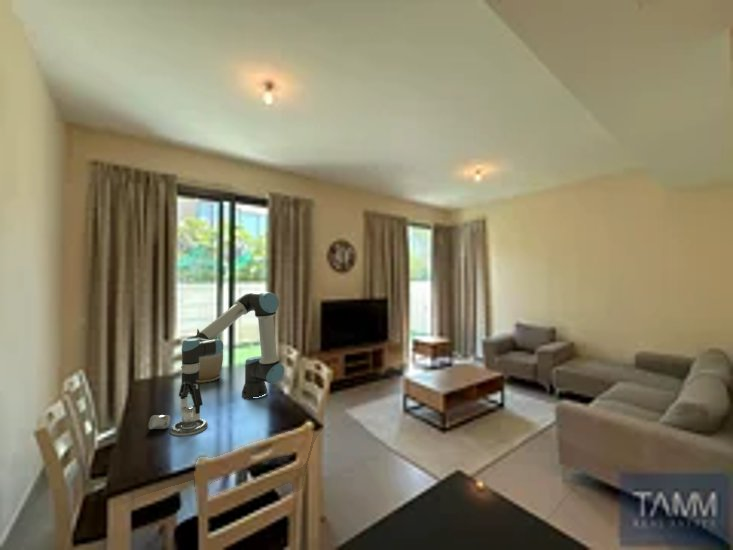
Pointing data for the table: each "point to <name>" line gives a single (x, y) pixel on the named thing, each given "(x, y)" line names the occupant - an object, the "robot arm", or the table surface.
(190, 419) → the knob
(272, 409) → the table surface
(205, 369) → the potted plant
